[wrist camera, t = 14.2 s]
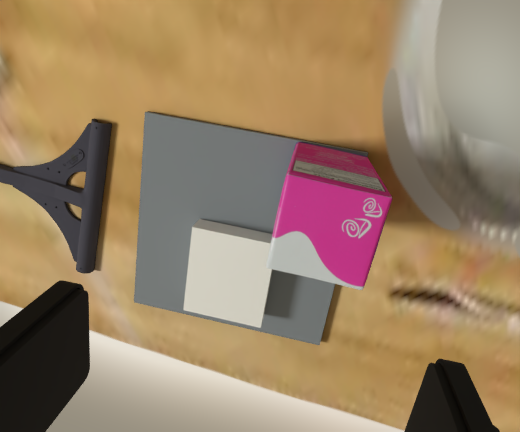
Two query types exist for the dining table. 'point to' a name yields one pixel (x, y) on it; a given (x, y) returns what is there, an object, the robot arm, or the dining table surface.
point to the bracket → (70, 190)
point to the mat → (218, 214)
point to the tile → (228, 273)
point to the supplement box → (329, 216)
